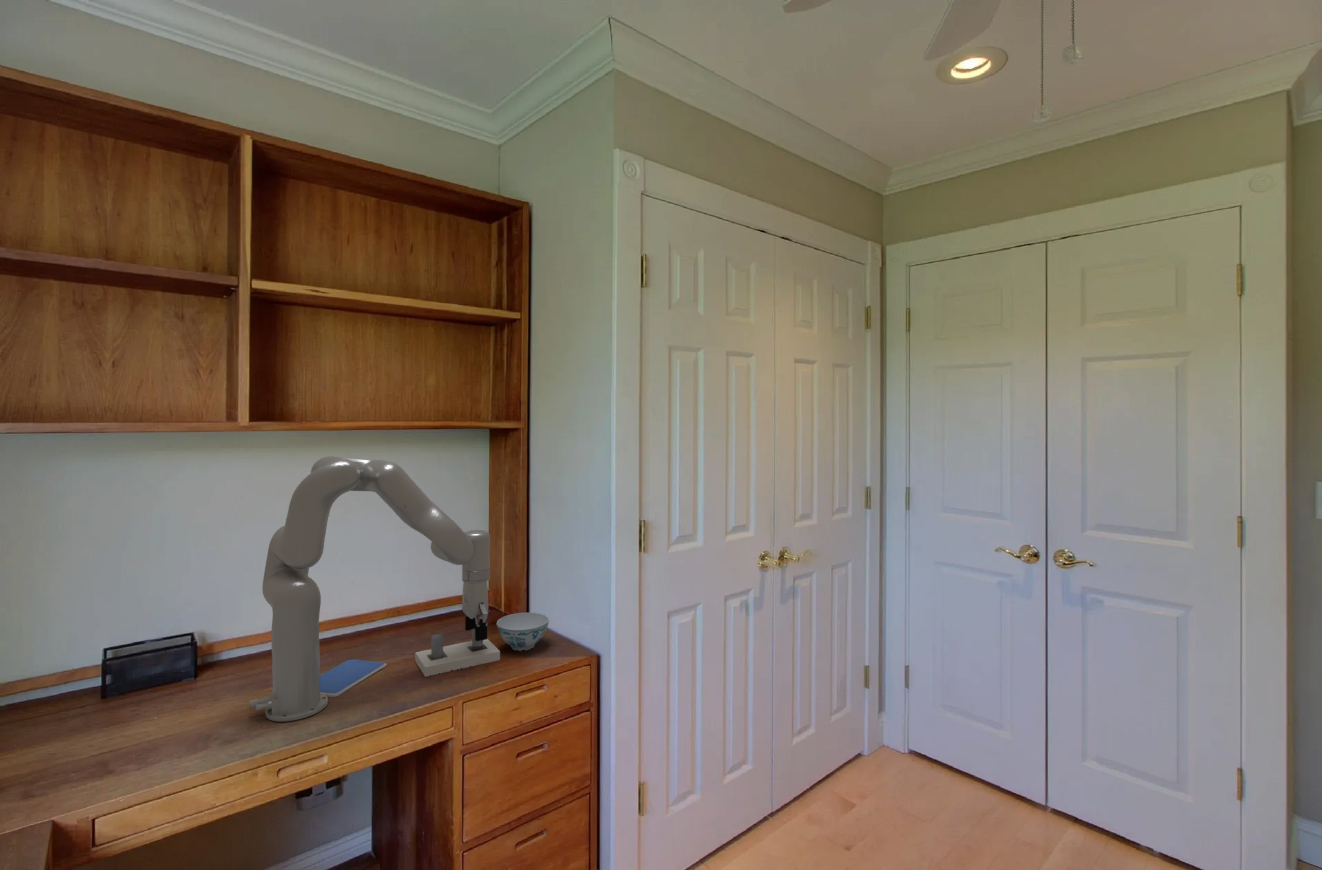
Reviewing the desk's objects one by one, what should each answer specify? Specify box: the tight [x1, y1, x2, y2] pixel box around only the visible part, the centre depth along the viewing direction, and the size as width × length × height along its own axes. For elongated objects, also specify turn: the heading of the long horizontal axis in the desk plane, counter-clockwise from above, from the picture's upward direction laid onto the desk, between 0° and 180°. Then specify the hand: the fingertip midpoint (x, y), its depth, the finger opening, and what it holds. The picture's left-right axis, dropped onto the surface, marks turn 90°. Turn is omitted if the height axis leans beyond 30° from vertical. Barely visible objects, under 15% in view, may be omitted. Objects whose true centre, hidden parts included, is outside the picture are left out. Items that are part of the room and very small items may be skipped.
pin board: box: [414, 633, 501, 678], centre depth 173 cm, size 20×12×8 cm, turn 123°
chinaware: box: [496, 612, 550, 652], centre depth 183 cm, size 15×15×8 cm
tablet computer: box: [320, 659, 388, 698], centre depth 162 cm, size 19×13×1 cm, turn 166°
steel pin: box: [471, 627, 483, 652], centre depth 176 cm, size 3×3×8 cm
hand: (475, 634), depth 175 cm, fingers open, 9 cm apart
